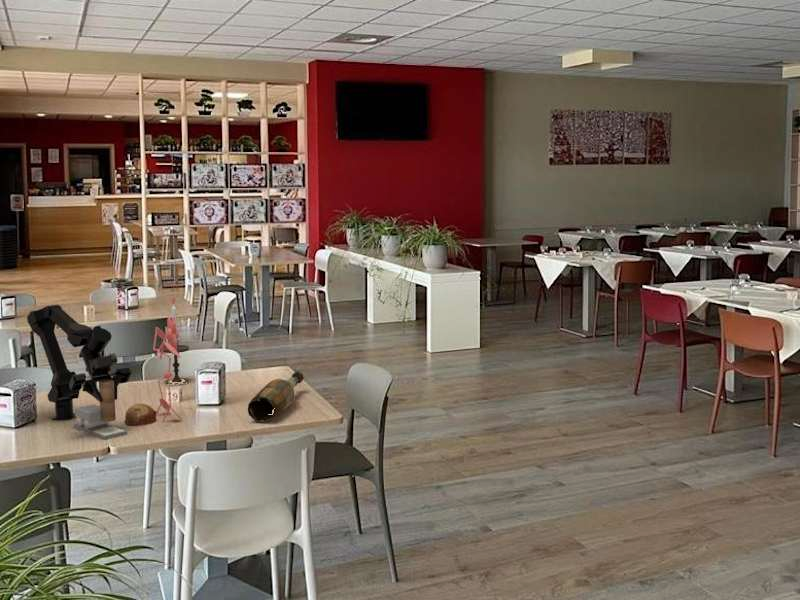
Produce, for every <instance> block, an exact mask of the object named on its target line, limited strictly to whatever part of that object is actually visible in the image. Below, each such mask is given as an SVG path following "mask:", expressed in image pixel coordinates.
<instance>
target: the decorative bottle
mask: <svg viewBox="0 0 800 600" xmlns="http://www.w3.org/2000/svg"><path fill="white" fill-rule="evenodd" d="M304 378H305V377H304V374H303V373H302V372H300V371H294V372H293V373H292V375H291V377H290V378H289V379H287V380H286V379H282V378H276V379H273V380H271V381H269V382H268V383H267V384H266V385H265V386H264V387H263V388H261V389H260V390H259V391H258V392H257V394H256V395H255V396H253V397H252V398H251V400H250V401H249V403H248V404H247V406H248V407H247V413H248V416H249V417H250V418H251V419H252V420H253V421H255V422H256V423H257V422H258V423H260V424H264V423H265V424H266V423H267V422H270V421H271V420H272V419H273V418H274V417H276V416H278V415H279V414H281V412H283V411H284V410H285V409H287V408H288V407H290V405H291V403H292V402H293V400H294V398H295V389H294V388H295V387H297V385H298V384H301V383H302V382H303V381H304ZM274 408H275V409H274ZM273 409H274V413H273V415H268V414H272V410H273Z"/></svg>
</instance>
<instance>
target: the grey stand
mask: <svg viewBox="0 0 800 600" xmlns="http://www.w3.org/2000/svg"><path fill="white" fill-rule="evenodd" d="M73 411H74V413H75V416H74V417H77V418H76V423H74V424H72V425H73V429H76V430H78V431H81V432H83V433H85V434H87V435H88V434H89V435H91V436H93V437H96V438H98V439H100V440H103V439H104V441H105V440H109V438H110V439H113V438H112V437H114V438H117V437H116V436H118V437H121V436H120V435H122V436H126V435H128V431H127V430H125V429H123V428H119V427H117V426H114V425H112V424H109V423H110V421H109V422H103V421H101V413H100V405H97V404H95V403H94V404H89V405H85V406H79V407H75V408H74V407H73ZM125 434H126V435H125Z"/></svg>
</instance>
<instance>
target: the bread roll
mask: <svg viewBox="0 0 800 600" xmlns="http://www.w3.org/2000/svg"><path fill="white" fill-rule="evenodd" d="M156 412H157V410H155V409H154V408H152V406H151V405H148V404H145V403H135V404H133V405H131V406H130V407H128V409H127V410H126V411H125V416H124V418H125V419H124V421H123V422H124V423H125V424H126V425H128V426H132V427H139V425H140V426H145V425H149V424H150V425H151V424H152V423H155V421H156V419H157V416H156Z"/></svg>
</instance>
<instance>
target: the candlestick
mask: <svg viewBox="0 0 800 600" xmlns="http://www.w3.org/2000/svg"><path fill="white" fill-rule="evenodd" d="M175 302H176V301H175V296H173V297H172V307H171V308H170V309H171V311H170V312H171V313H170V314H171V319H172V318H173V317H175V322H176V329H177V330H178V323H177V307H176V306H175ZM179 343H180V340H178V339H177V352H178V354H179V355H180V353H185V352H188V351H190V346H189V345H186V344H179ZM161 350H162V347H161V349H160V351H161ZM163 353H165V354H172V355H173V363H172V365H171V366H172V367H173V373H174V377H173V378H170V380H172V379H173V380H172V382H181V381H182V380H181V379H184V380H185V382H183V383H186V382H188V383H189V378H188V379H187V378H183V377H180V376H179V372H180V369H179V367H180V363H179V362H178V361H179V359H178V358H179V357H177V356H176V355H174V354H173V353H172V352H170V351H169V349H168V348H167V347H166V346H165V345H164V348H163ZM168 381H169V379H166V380H165V381H164V384H165V383H166V384H169V382H168ZM166 384H165V385H166ZM170 384H172V383H170ZM175 384H178V383H175Z"/></svg>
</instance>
